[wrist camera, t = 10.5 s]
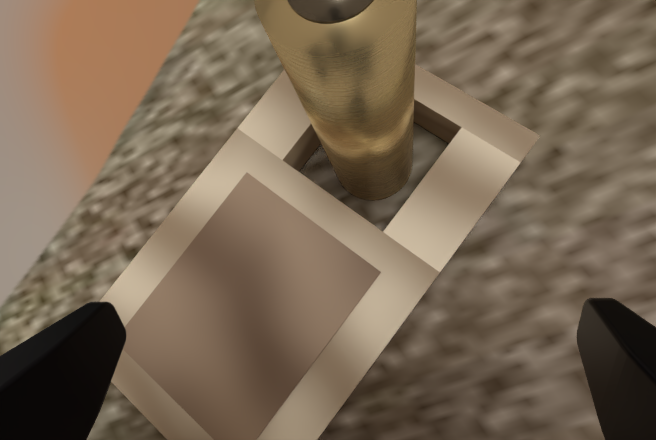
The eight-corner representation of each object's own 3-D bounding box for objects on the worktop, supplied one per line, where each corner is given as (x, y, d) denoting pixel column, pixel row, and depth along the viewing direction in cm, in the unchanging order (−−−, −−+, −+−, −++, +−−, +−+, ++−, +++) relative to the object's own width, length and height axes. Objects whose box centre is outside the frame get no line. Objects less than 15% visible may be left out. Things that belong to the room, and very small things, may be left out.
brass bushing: (381, 215, 22) (348, 81, 10) (320, 172, 24) (220, 3, 11) (428, 153, 23) (452, -52, 10) (366, 114, 24) (318, -116, 11)
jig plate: (270, 503, 20) (250, 530, 18) (104, 336, 24) (66, 339, 21) (525, 156, 22) (541, 133, 19) (335, 43, 25) (327, 11, 22)
